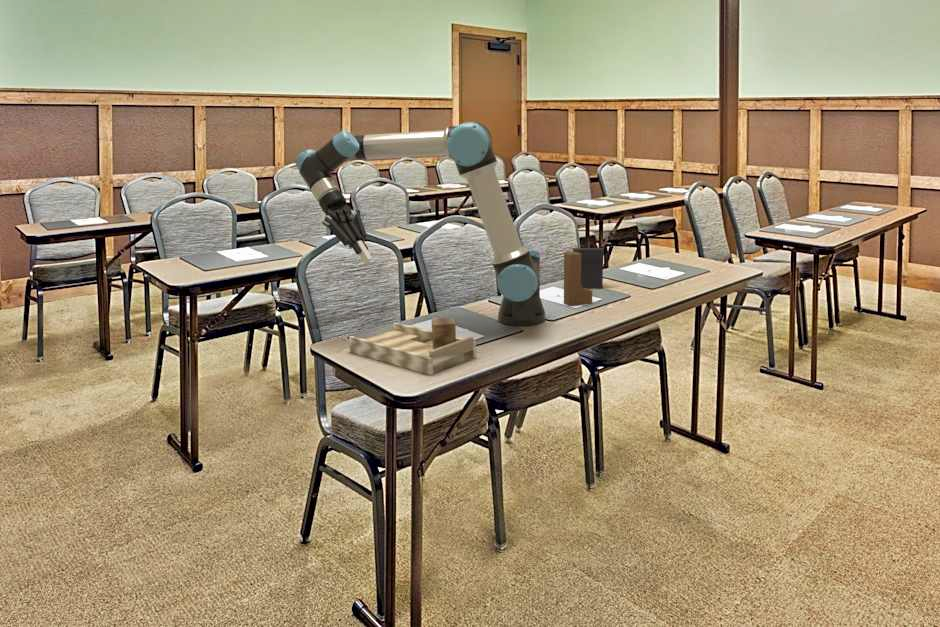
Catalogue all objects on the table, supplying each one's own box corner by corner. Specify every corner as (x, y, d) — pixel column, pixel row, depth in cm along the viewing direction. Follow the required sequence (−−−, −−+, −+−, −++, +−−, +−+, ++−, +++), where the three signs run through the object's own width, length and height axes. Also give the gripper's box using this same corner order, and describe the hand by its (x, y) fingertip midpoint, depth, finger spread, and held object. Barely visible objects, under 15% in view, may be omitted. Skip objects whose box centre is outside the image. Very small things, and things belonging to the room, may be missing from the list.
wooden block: (586, 300, 268) (587, 249, 264) (592, 303, 264) (593, 252, 260) (563, 303, 266) (563, 252, 261) (569, 306, 262) (569, 254, 257)
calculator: (601, 286, 288) (602, 247, 284) (602, 289, 284) (603, 249, 280) (572, 286, 289) (572, 247, 285) (573, 289, 285) (573, 249, 281)
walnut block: (434, 353, 207) (433, 324, 205) (432, 346, 213) (431, 319, 211) (456, 351, 208) (455, 323, 206) (454, 345, 214) (453, 317, 212)
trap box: (349, 351, 218) (348, 331, 217) (396, 336, 232) (395, 317, 230) (430, 375, 198) (429, 353, 196) (476, 357, 211) (476, 336, 209)
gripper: (342, 200, 233) (380, 263, 228) (306, 208, 225) (345, 273, 220) (351, 185, 228) (391, 249, 223) (315, 192, 219) (355, 259, 214)
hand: (368, 261), depth 221 cm, fingers closed
